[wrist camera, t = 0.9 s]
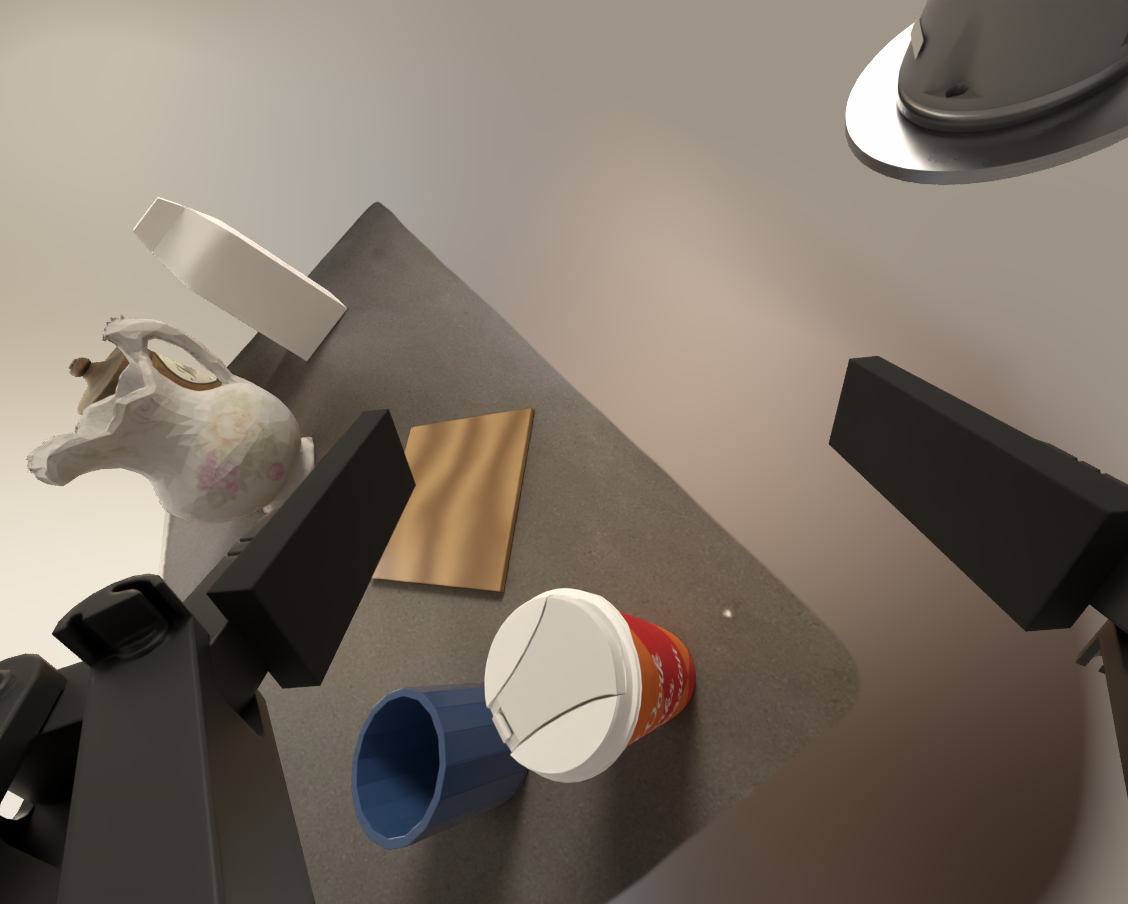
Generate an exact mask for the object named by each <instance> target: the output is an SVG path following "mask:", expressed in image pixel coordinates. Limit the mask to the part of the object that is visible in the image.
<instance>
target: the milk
mask: <svg viewBox="0 0 1128 904" xmlns="http://www.w3.org/2000/svg"><path fill="white" fill-rule="evenodd" d="M133 232H134V233H135V234H136V235H137V236H138V237H139V239H140V240H141V241H142V242H143V243H144V244H145V245H146V246H147V248H148V249H149V250H150V251H152V252H153V254H154V255H155V256H156V257H157V258H158V259H159V260H160V261H161V262H162V263H163V264H164V265H165V266H166V267H167V268H168V269H169V270H170V271H171V272H172V273H173V274H174V275H175V276H176V277H177V278H178V279H179V280H180V281H181V282H182V283H183V284H184V285H185V286H187V287H188V288H189V289H190V290H192V291H194V292H195V293H197V294H198V295H200V296H201V297H203V298H205V299H206V300H208V301H210V302H211V303H213V304H214V305H216V306H218V307H219V308H221V309H223V310H225V311H226V312H228V313H229V314H231V315H232V316H234V317H236V318H238V319H239V320H241V321H242V322H244V323H245V324H247V325H249V326H250V327H252V328H254V329H255V330H257V331H258V332H260V333H262V334H263V335H265V336H267V337H268V338H270V339H271V340H273V341H275V342H276V343H278V344H280V345H281V346H283V347H285V348H286V349H288V350H289V351H291V352H293V353H294V354H296V355H298V356H299V357H301V358H302V359H304V360H306V361H308V359H309V358H310V357H311V356H312V354H313V353H314V352H315V350H316V349H317V348H318V346H319V345H320V344H321V342H322V341H323V340H324V339H325V337H326V336H327V335H328V333H329V332H330V331H331V329H332V328H333V327H334V325H335V324H336V323H337V322H338V320H339V319H340V318H341V316H342V315H343V314H344V312H345V311H346V310H347V307H345V306H344V305H343V304H342V303H341V302H340V301H339V300H338V299H337V298H336V297H335V296H334V295H333V294H331V293H330V292H329V291H328V290H326V289H324V288H323V287H321V286H320V285H318V284H317V283H315V282H314V281H312V280H311V279H309V278H308V277H306V276H305V275H303V274H302V273H300V272H299V271H297V270H296V269H294V268H293V267H291V266H289V265H288V264H286V263H285V262H283V261H282V260H280V259H279V258H277V257H276V256H274V255H273V254H271V253H270V252H268V251H267V250H265V249H264V248H262V247H261V246H259V245H258V244H256V243H255V242H253V241H252V240H250V239H248V238H247V237H245V236H244V235H242V234H241V233H239V232H238V231H236V230H235V229H233V228H232V227H230V226H229V225H227V224H225V223H224V222H222V221H220V220H218V219H216V218H213V217H211V216H209V215H206V214H203V213H201V212H198V211H196V210H193V209H191V208H188V207H184V206H183V205H180V204H177V203H174V202H171V201H168V200H165V199H162V198H159V197H157V199H156V200H155V201H154V203H153V204H152V205H151V207H150V208H149V209H148V210H147V212H146V214H145V215H144V216H143V217H142V218H141V220H140V221H139V222H138V224H137V225H136V226H135V228H134V229H133Z"/></svg>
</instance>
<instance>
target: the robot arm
mask: <svg viewBox="0 0 1128 904" xmlns="http://www.w3.org/2000/svg"><path fill="white" fill-rule="evenodd" d="M910 36H911V40H910V43H909V45H908V47H907V50H906V52H905V55H904V57H903V60H902V62H901V65H900V68H899V73H898V83H897V94H896V99H897V105H898V107H899V109H900V111H901V113H902V114H903V115H904V116H905V117H906V118H907V119H908V120H910V121H911V122H913V123H915V124H916V125H919V126H921V127H924V128H928V129H931V130H937V131H944V132H977V131H986V130H993V129H999V128H1004V127H1009V126H1013V125H1017V124H1021V123H1025V122H1028V121H1032V120H1035V119H1038V118H1041V117H1044V116H1047V115H1049V114H1052V113H1055V112H1057V111H1060V110H1062V109H1065V108H1067V107H1069V106H1072V105H1074V104H1076V103H1078V102H1080V101H1082V100H1084V99H1086V98H1088V97H1090V96H1092V95H1094V94H1095V93H1097V92H1099V91H1101V90H1102V89H1104V88H1106V87H1107V86H1109V85H1110V84H1112V83H1113V82H1115V81H1116V80H1118V79H1119V78H1121V77H1122V76H1123V75H1125V74H1126V73H1127V72H1128V0H928V1H927V3H926V5H925V8H924V10H923V13H922V15H921V17H920V19H919V18H918V16H917V18H916V20H915V23H914V25H913V28H912V30H911V33H910ZM829 445H830V446H831V447H832V448H833V449H835V450H836V451H837V452H838V453H839V454H840V455H841V456H842V457H843V458H844V459H845V460H846V461H847V462H848V463H849V464H850V465H851V466H852V467H853V468H854V469H856V470H857V471H858V472H859V473H860V474H861V475H862V476H863V477H864V478H865V479H866V480H867V481H868V482H869V483H870V484H871V485H872V486H874V488H875V489H877V490H878V491H879V492H880V493H881V494H882V495H883V496H884V497H885V498H886V499H887V500H888V501H889V502H890V503H891V504H892V505H893V506H895V507H896V508H897V509H898V510H899V511H900V512H901V513H902V514H903V515H904V516H905V517H906V518H907V519H908V520H909V521H910V522H911V523H912V524H914V526H915V527H917V529H919V530H920V531H921V532H922V533H923V534H924V535H925V536H926V537H927V538H928V539H929V540H930V541H931V542H932V543H933V544H934V545H935V546H936V547H937V548H938V549H940V550H941V551H942V552H943V553H944V554H945V555H946V556H947V557H948V558H949V559H950V560H951V561H952V562H953V563H954V564H956V565H957V567H958V568H960V569H961V570H962V571H963V572H964V573H965V574H966V575H967V576H968V577H969V578H970V579H971V580H972V581H973V582H974V583H975V584H976V585H977V586H979V588H981V589H982V590H983V591H984V592H985V593H986V594H987V595H988V596H989V597H990V598H991V599H992V600H993V601H994V602H995V603H996V604H997V605H999V607H1000V608H1002V609H1003V610H1004V611H1005V612H1006V613H1007V614H1008V615H1009V616H1010V617H1011V618H1012V619H1013V620H1014V621H1015V622H1016V623H1017V624H1018V625H1019V626H1020V627H1022V628H1023V629H1024V630H1025V631H1038V630H1051V629H1062V628H1063V629H1064V628H1071V627H1072V625H1073V624H1074V623H1075V621H1076V620H1077V619H1078V618H1079V617H1080V615H1081V614H1082V613H1083V611H1084V610H1085V609H1086V608H1087V606H1088V605H1089V604H1090V605H1091V606H1092V607H1094V608H1095V609H1096V610H1098V611H1099V612H1100V613H1101V614H1103V615H1104V616H1105V617H1107V618H1108V620H1107V621H1106V623H1105V624H1104V625H1103V626H1102V627H1101V628H1100V630H1099V631H1098V632H1097V633H1096V634H1095V636H1094V637H1093V638H1092V639H1091V640H1090V641H1089V643H1088V644H1087V645H1086V646H1085V647H1084V649H1083V650H1082V651H1081V652H1080V653H1079V655H1078V657H1077V661H1076V663H1078V664H1080V665H1083V666H1086V665H1087V664H1088V663H1089V661H1090V660H1091V659H1092V658H1093V657H1096V656H1102V658H1103V664H1104V665H1103V666H1102V667H1101V668H1100V669H1099V672H1101V673H1104V674H1105V675H1106V680H1107V686H1108V691H1109V697H1110V702H1111V708H1112V713H1113V719H1114V725H1115V730H1116V736H1117V741H1118V747H1119V752H1120V758H1121V763H1122V768H1123V774H1124V780H1125V785H1126V791H1127V796H1128V484H1126V483H1124V482H1122V481H1120V480H1118V479H1116V478H1114V477H1112V476H1110V475H1109V474H1107V473H1105V474H1101V473H1100V470H1099V469H1097V468H1095V467H1093V466H1091V465H1089V464H1088V463H1086V462H1084V461H1079V462H1078V460H1077V458H1076V457H1074V456H1072V455H1070V454H1068V453H1067V452H1065V451H1063V450H1061V449H1059V448H1057V447H1055V446H1053V445H1051V444H1049V443H1045V442H1043V441H1040V440H1037V439H1034V438H1032V437H1030V436H1028V435H1026V434H1024V433H1023V432H1021V431H1019V430H1017V429H1015V428H1013V427H1011V426H1009V425H1007V424H1005V423H1004V422H1002V421H1000V420H997V419H996V418H994V417H992V416H990V415H989V414H987V413H985V412H983V411H981V410H979V409H977V408H975V407H973V406H972V405H970V404H968V403H966V402H964V401H962V400H960V399H958V398H956V397H954V396H953V395H951V394H949V393H947V392H945V391H943V390H941V389H939V388H938V387H936V386H934V385H932V384H930V383H928V382H926V381H924V380H922V379H921V378H918V377H917V376H915V375H913V374H911V373H909V372H907V371H905V370H904V369H902V368H900V367H898V366H896V365H894V364H892V363H890V362H888V361H887V360H885V359H883V358H881V357H879V356H872V357H863V358H853V359H849V363H848V367H847V371H846V375H845V379H844V383H843V387H842V392H841V395H840V400H839V404H838V408H837V412H836V416H835V420H834V424H833V428H832V432H831V436H830V441H829ZM415 486H416V483H415V481H414V478H413V475H412V472H411V469H410V467H409V464H408V461H407V458H406V456H405V453H404V450H403V447H402V444H401V442H400V439H399V436H398V433H397V431H396V428H395V425H394V422H393V419H392V417H391V414H390V411H389V409H383V410H374V411H364V412H362V414H361V415H360V416H359V417H358V418H357V419H356V421H355V422H354V423H353V424H352V425H351V426H350V427H349V429H348V430H347V431H346V432H345V433H344V434H343V436H342V437H341V438H340V439H339V440H338V441H337V442H336V444H335V445H334V446H333V447H332V448H331V449H330V451H329V452H328V453H327V454H326V455H325V456H324V457H323V459H322V460H321V461H320V462H319V463H318V464H317V466H316V467H315V468H314V469H313V470H312V471H311V472H310V474H309V475H308V476H307V477H306V478H305V479H304V481H303V482H302V483H301V484H300V485H299V486H298V487H297V489H296V490H295V491H294V492H293V493H292V494H291V496H290V497H289V498H288V499H287V500H286V501H285V502H284V504H283V505H282V506H281V507H276V508H275V509H274V510H272V511H271V512H269V513H268V514H266V515H265V516H264V517H262V518H261V519H259V520H258V521H257V522H255V523H254V524H253V526H252V527H251V528H250V529H249V530H248V531H247V532H246V533H245V534H244V536H243V537H242V538H241V539H240V543H236V544H235V545H234V547H233V548H232V549H231V550H230V551H229V552H228V553H227V554H228V556H227V557H224V558H223V559H222V560H221V561H220V562H219V563H218V564H217V565H216V567H215V568H214V569H213V570H212V571H211V572H210V573H209V574H208V575H207V577H206V578H205V579H204V580H203V581H202V582H201V583H200V584H199V585H198V586H197V588H196V589H195V590H194V591H193V592H192V593H191V594H190V595H189V596H188V598H187V599H186V600H185V601H184V602H182V601H181V600H180V599H179V598H178V597H177V596H176V594H175V593H174V592H173V591H172V590H171V589H170V587H169V586H168V585H167V584H166V583H165V582H164V580H163V579H162V578H161V577H160V576H159V575H153V574H143V575H138V576H132V577H130V578H126V579H124V580H121V581H118V582H115V583H113V584H111V585H109V586H107V587H105V588H103V589H101V590H99V591H98V592H96V593H94V594H92V595H91V596H89V597H88V598H86V599H85V600H83V601H82V602H81V603H79V604H78V605H76V606H75V607H74V608H72V609H71V610H70V611H69V612H68V613H67V614H66V615H65V616H64V617H63V618H62V619H61V620H60V621H59V622H58V624H57V626H56V627H55V629H54V631H53V633H52V635H53V636H54V637H56V638H57V639H58V640H59V641H60V642H61V643H63V644H64V645H65V646H66V647H67V648H68V649H70V650H71V651H72V652H73V653H74V654H76V655H77V656H78V657H79V658H80V659H81V660H82V662H79V663H76V664H73V665H70V666H67V667H64V668H61V669H58V670H57V669H55V668H54V667H53V666H52V665H50V664H49V663H48V662H47V661H46V660H44V659H43V658H42V657H41V656H39V655H37V654H23V655H19V656H15V657H11V658H8V659H5V660H3V661H1V662H0V804H1V801H2V800H3V798H4V796H5V794H6V792H7V791H8V790H9V791H10V792H12V793H14V794H16V795H18V796H20V797H21V798H23V799H24V801H23V803H22V805H21V807H20V809H19V811H18V813H17V814H16V815H15V816H14V818H13V819H6V818H4V817H2V816H0V904H315V900H314V896H313V892H312V888H311V884H310V880H309V876H308V871H307V867H306V863H305V859H304V855H303V851H302V847H301V843H300V839H299V835H298V831H297V827H296V823H295V819H294V815H293V811H292V807H291V802H290V798H289V794H288V790H287V786H286V782H285V778H284V774H283V770H282V766H281V762H280V758H279V754H278V750H277V746H276V742H275V738H274V734H273V729H272V725H271V721H270V717H269V713H268V709H267V705H266V701H265V699H264V697H263V696H262V694H261V693H260V692H259V691H258V690H257V689H258V687H259V685H260V684H261V682H262V680H263V679H264V677H265V675H266V674H267V672H268V671H269V673H270V674H271V675H272V676H273V678H274V679H275V680H276V681H277V682H278V684H279V685H280V686H281V687H282V689H283V688H296V687H309V686H320V685H321V683H322V681H323V679H324V677H325V675H326V673H327V671H328V668H329V666H330V664H331V662H332V660H333V658H334V656H335V654H336V652H337V650H338V647H339V645H340V643H341V641H342V639H343V637H344V635H345V633H346V631H347V629H348V626H349V624H350V622H351V620H352V618H353V616H354V614H355V612H356V610H357V608H358V606H359V603H360V601H361V599H362V597H363V595H364V593H365V591H366V589H367V587H368V585H369V582H370V580H371V578H372V576H373V574H374V572H375V570H376V568H377V566H378V564H379V562H380V559H381V557H382V555H383V553H384V551H385V549H386V547H387V545H388V543H389V541H390V538H391V536H392V534H393V532H394V530H395V528H396V526H397V524H398V522H399V520H400V517H401V515H402V513H403V511H404V509H405V507H406V505H407V503H408V501H409V499H410V497H411V494H412V492H413V490H414V488H415Z"/></svg>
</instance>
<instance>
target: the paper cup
mask: <svg viewBox="0 0 1128 904" xmlns="http://www.w3.org/2000/svg"><path fill="white" fill-rule="evenodd" d="M484 684H485V699H486V706H487V708H491V709H490V710H491V712H492V714H493V718H492V720H493V722H494V724H495V726H496V728H497V730H498V732H499V735H500V737H501V739H502V741H503V743H506V744H507V745H508V747H509V748H510V750H511V752H512V753H511V754H510V755H511V756H512V757H513V758H514V759H515V760H516V761H517V762H518V763H520V764H521V765H523V766H525V767H526V768H528V769H529V770H532V771H534V772H536V773H537V774H539V775H540V776H542V777H545V778H548V779H550V780H553V781H558V782H565V783H570V782H580V781H583V780H587V779H590V778H593V777H594V776H596V775H598V774H600V773H601V772H603V771H605V770H606V769H607V768H608V767H609V766H610V765H612V764H613V763H614V762H615V761H616V760H617V758H618V757H619V756H620V755H621V753H622V752H623V751H624V750H625V748H626V747H627V746H628V745H630V744H632V743H633V742H635V741H637V740H638V739H640V738H642V737H643V736H645V735H646V734H648V733H650V732H651V731H653V730H654V729H656V728H658V727H659V726H661V725H662V724H664V723H666V722H667V721H669V720H670V719H672V718H673V717H674V716H676V715H677V714H678V713H680V712H681V711H682V710H683V709H684V708H685V707H686V705H687V704H688V702H689V701H690V699H691V697H692V694H693V691H694V687H695V668H694V664H693V660H692V658H691V655H690V653H689V651H688V650H687V648H686V647H685V645H684V644H683V643H682V642H681V641H680V640H679V639H678V638H677V637H676V636H675V635H674V634H672V633H671V632H669V631H667V630H665V629H663V628H661V627H658V626H656V625H654V624H651V623H648V622H646V621H643V620H641V619H638V618H635V617H633V616H630V615H627V614H625V613H622V612H619V611H618V610H617V609H616V608H615V607H614V606H613V605H612V604H611V603H610V602H608V601H607V600H606V599H604V598H603V597H602V596H599V595H595V594H591V593H587V592H584V591H581V590H577V589H568V588H563V589H554V590H551V591H547V592H544V593H542V594H540V595H538V596H536V597H534V598H533V599H531V600H530V601H528V602H526V603H524V604H523V605H521V606H520V607H518V608H517V609H516V610H515V611H514V612H513V613H512V614H511V615H510V616H509V617H508V618H507V619H506V621H505V622H504V623H503V624H502V626H501V627H500V629H499V631H498V632H497V634H496V636H495V638H494V641H493V643H492V645H491V648H490V652H489V655H488V659H487V664H486V669H485V682H484Z"/></svg>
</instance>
